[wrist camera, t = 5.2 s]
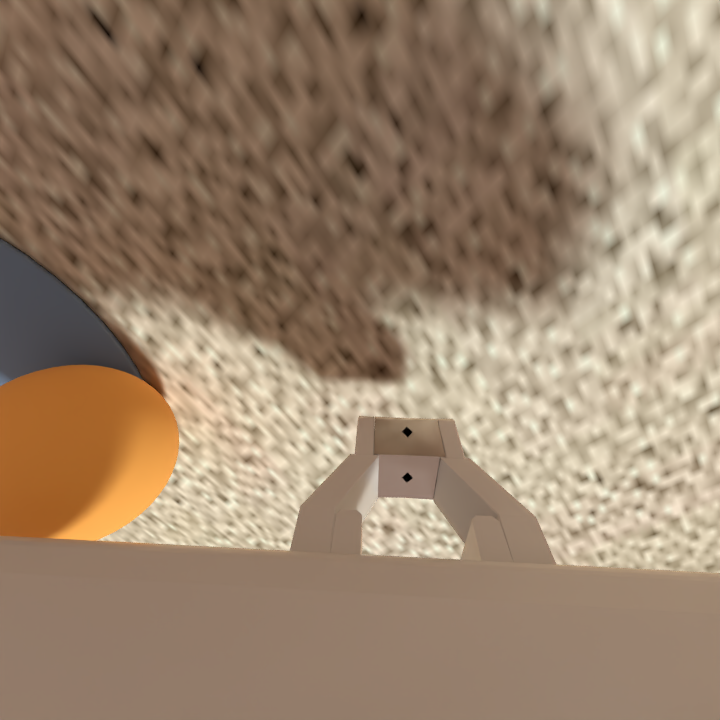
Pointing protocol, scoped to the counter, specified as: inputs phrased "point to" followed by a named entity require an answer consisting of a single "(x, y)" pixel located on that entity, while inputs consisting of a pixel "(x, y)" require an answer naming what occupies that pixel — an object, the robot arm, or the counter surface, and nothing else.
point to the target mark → (48, 323)
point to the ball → (81, 451)
